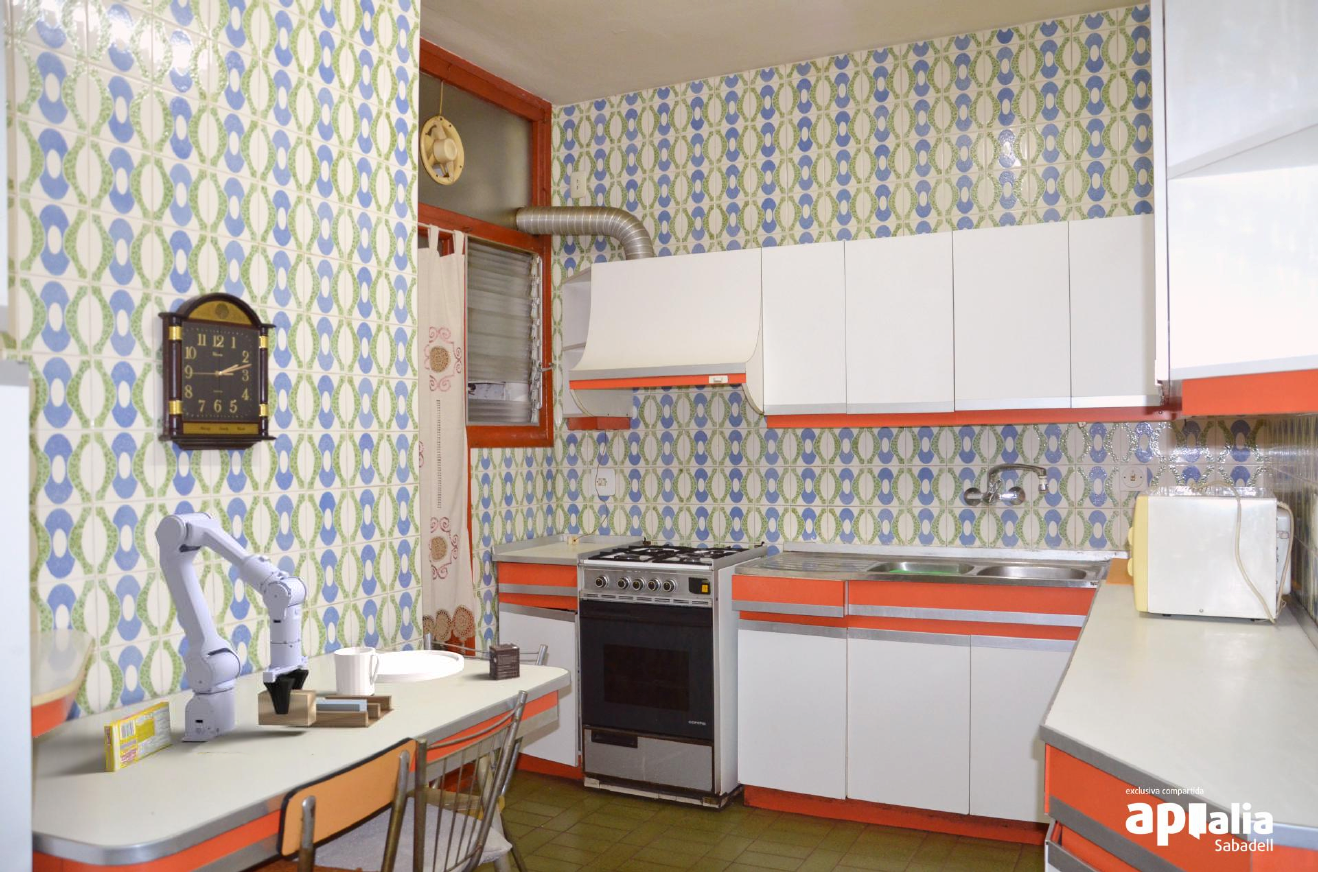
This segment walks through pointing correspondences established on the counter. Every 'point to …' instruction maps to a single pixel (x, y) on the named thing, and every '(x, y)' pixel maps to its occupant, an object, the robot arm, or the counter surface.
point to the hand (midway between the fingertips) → (286, 711)
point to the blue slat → (341, 705)
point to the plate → (417, 665)
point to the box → (504, 661)
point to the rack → (354, 712)
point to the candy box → (137, 736)
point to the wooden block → (298, 712)
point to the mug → (356, 670)
